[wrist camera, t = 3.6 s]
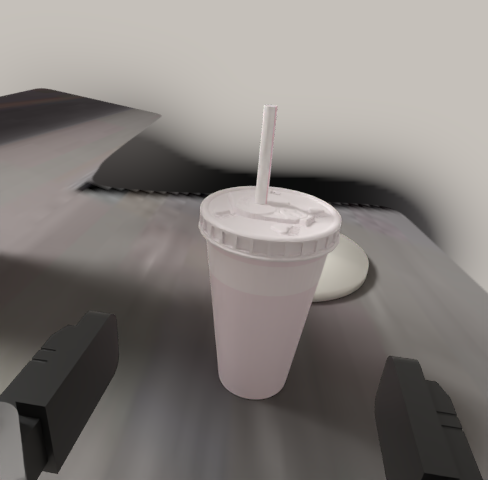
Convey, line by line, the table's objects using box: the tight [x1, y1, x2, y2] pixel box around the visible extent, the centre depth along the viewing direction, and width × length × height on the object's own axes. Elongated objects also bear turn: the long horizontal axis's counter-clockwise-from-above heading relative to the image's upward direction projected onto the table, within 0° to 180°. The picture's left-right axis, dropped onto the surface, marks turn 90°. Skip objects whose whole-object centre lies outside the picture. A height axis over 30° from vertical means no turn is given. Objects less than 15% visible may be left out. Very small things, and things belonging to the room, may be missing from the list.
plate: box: [312, 233, 369, 302], centre depth 35 cm, size 13×13×1 cm
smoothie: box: [198, 105, 342, 399], centre depth 20 cm, size 6×6×14 cm
